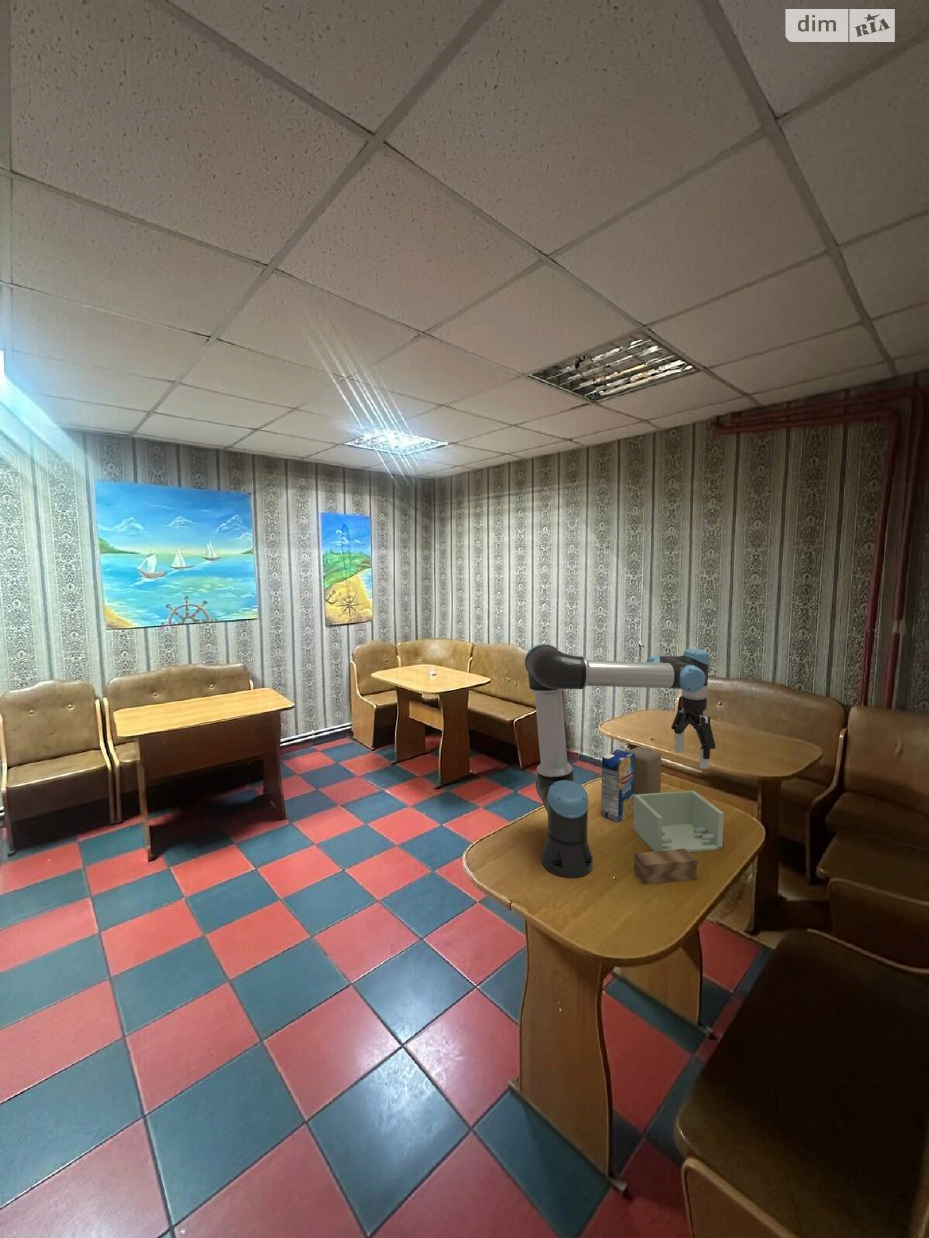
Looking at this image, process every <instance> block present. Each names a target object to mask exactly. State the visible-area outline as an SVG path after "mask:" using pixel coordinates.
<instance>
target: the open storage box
mask: <svg viewBox="0 0 929 1238" xmlns="http://www.w3.org/2000/svg"><path fill="white" fill-rule="evenodd" d="M724 814H725V812H723V811H722V810H720V809H719V808H718V807H716V806H715V805H714V804H713V803H712V802H710V801H709V800H707V799H706V798H705V797H703V796H702V795H701V794H699V793H698V792H696V791H695V790H682V791H669V792H668V791H667V792H660V793H651V794H637V795H634V803H633V813H632V829H633V831H634V832H635V833H636V834H637V835H639V837H640V838H641V839H642V840H643V841H644V843H645V844H647V846H648V847H649V848H650V849H651V850H652V852H653V851H664V850H674V849H686V850H687V851H688V852H689V853H693V852H704V851H717V849H718V850H723V839H724V838H723V837H724V836H723V835H724V820H725V819H724V818H725V817H724V816H725V815H724Z"/></svg>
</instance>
